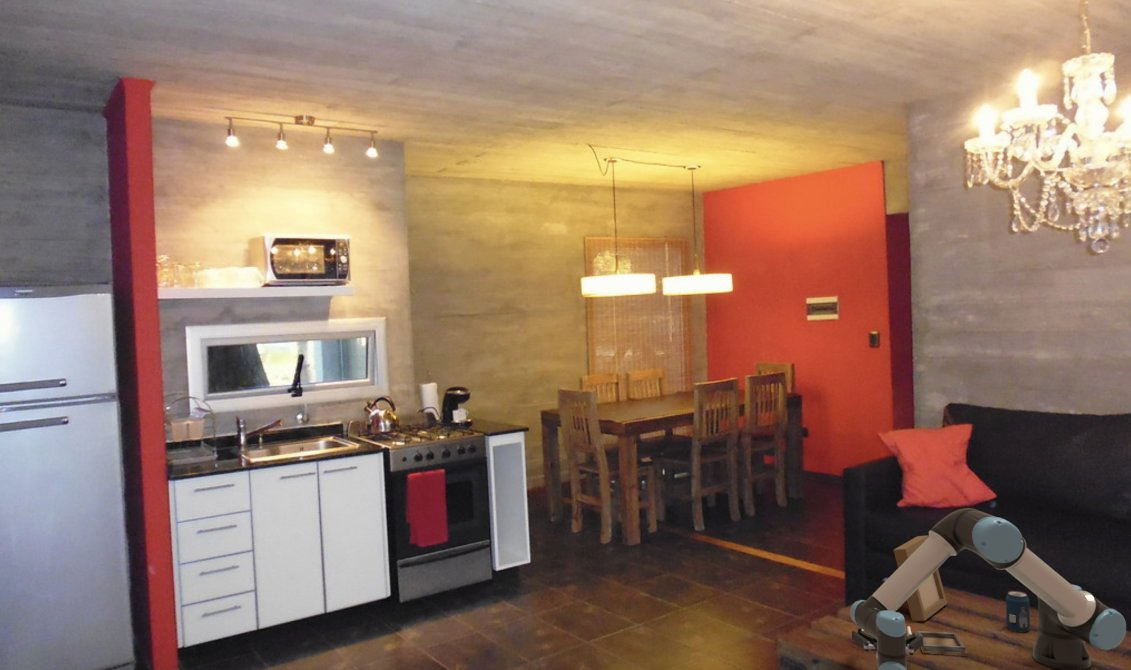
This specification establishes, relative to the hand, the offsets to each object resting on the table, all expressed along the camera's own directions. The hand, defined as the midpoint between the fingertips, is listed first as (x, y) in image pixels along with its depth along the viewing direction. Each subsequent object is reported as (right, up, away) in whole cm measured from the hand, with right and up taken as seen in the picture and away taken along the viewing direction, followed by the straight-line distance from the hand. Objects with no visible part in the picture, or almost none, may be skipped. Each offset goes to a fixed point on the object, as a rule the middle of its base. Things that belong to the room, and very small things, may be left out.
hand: (885, 628), depth 262 cm
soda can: (+51, -6, +17) cm, 54 cm away
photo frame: (+25, -7, +38) cm, 46 cm away
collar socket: (+20, -8, +5) cm, 22 cm away
